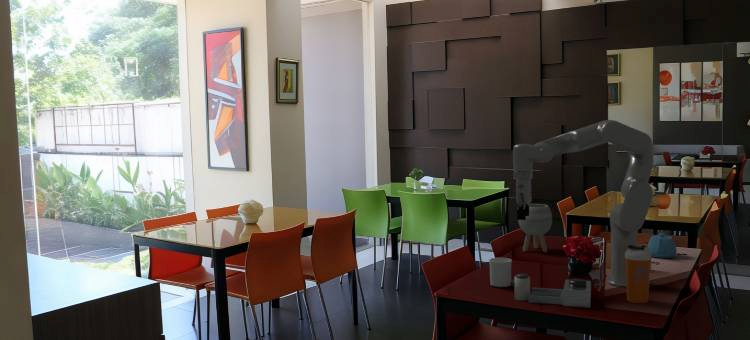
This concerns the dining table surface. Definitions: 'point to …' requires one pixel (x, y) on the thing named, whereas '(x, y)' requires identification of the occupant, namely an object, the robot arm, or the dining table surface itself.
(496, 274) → the mug
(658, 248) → the teapot
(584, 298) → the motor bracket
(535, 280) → the dining table surface
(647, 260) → the shaker bottle
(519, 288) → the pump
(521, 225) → the grey tooth model
